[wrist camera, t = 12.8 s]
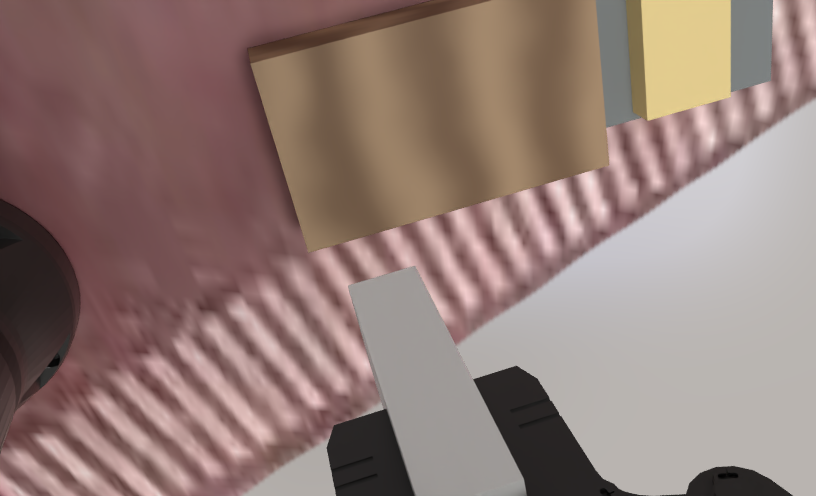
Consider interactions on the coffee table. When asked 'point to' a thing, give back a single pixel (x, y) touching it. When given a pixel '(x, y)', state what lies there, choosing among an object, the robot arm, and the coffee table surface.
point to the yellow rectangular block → (678, 54)
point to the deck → (432, 110)
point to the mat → (746, 52)
